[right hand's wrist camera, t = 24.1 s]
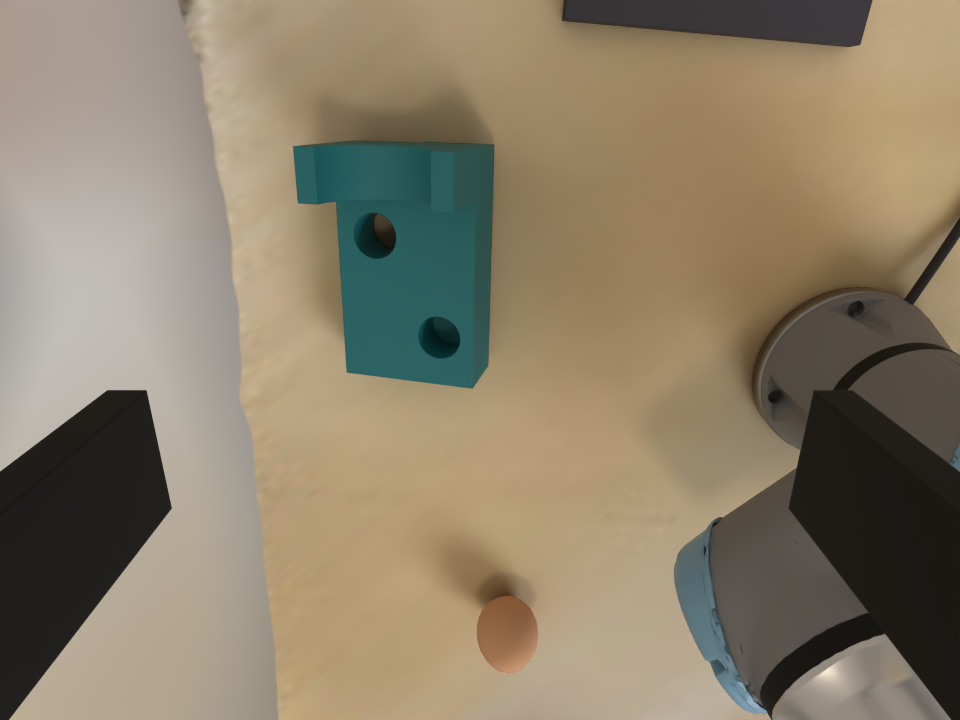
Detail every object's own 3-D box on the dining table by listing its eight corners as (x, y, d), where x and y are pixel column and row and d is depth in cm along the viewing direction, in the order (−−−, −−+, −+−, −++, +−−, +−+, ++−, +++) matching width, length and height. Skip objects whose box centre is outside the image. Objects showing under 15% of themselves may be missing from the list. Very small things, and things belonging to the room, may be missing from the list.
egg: (543, 590, 65) (551, 651, 58) (522, 632, 67) (527, 697, 60) (488, 574, 64) (489, 634, 57) (469, 617, 66) (467, 681, 59)
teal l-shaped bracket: (362, 139, 50) (293, 146, 41) (494, 144, 48) (453, 152, 38) (371, 351, 57) (314, 399, 47) (488, 365, 54) (452, 418, 45)
